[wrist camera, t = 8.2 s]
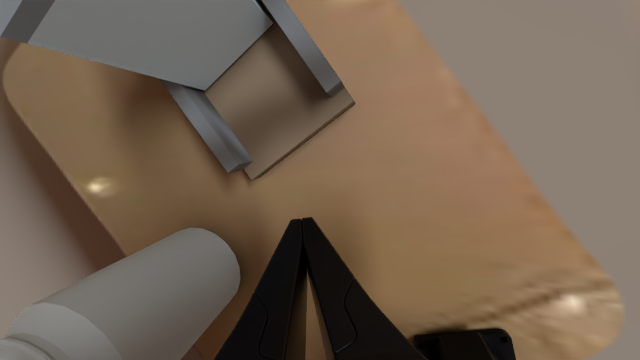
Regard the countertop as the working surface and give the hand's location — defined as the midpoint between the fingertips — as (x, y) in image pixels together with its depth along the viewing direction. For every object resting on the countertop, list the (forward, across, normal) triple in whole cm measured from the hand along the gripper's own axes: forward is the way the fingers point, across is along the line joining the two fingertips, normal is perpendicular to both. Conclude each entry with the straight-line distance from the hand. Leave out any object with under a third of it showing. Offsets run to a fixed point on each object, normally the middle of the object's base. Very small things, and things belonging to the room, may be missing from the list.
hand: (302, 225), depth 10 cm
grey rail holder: (+13, +3, -5) cm, 15 cm away
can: (+8, +9, +11) cm, 16 cm away
